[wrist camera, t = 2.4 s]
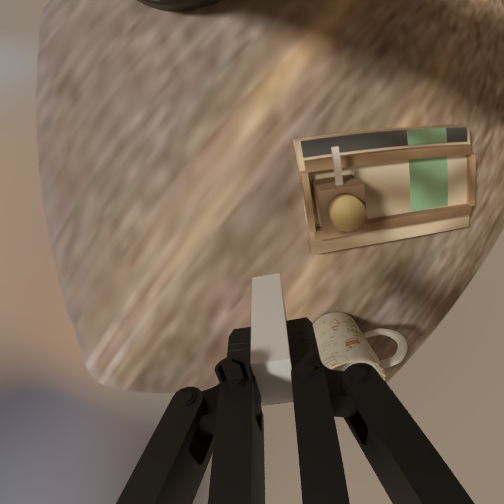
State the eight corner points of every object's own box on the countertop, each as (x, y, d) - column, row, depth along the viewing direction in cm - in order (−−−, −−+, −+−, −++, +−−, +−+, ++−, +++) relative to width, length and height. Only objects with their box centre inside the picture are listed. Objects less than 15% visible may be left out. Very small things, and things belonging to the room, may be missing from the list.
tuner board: (293, 139, 30) (296, 142, 27) (462, 124, 28) (474, 127, 26) (309, 248, 35) (313, 259, 33) (462, 222, 33) (472, 229, 31)
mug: (295, 312, 39) (305, 372, 30) (392, 287, 37) (423, 339, 28) (307, 358, 42) (316, 415, 33) (392, 335, 40) (417, 387, 31)
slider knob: (306, 145, 28) (317, 154, 23) (347, 140, 28) (365, 147, 23) (317, 218, 32) (328, 240, 27) (354, 212, 31) (372, 233, 26)
